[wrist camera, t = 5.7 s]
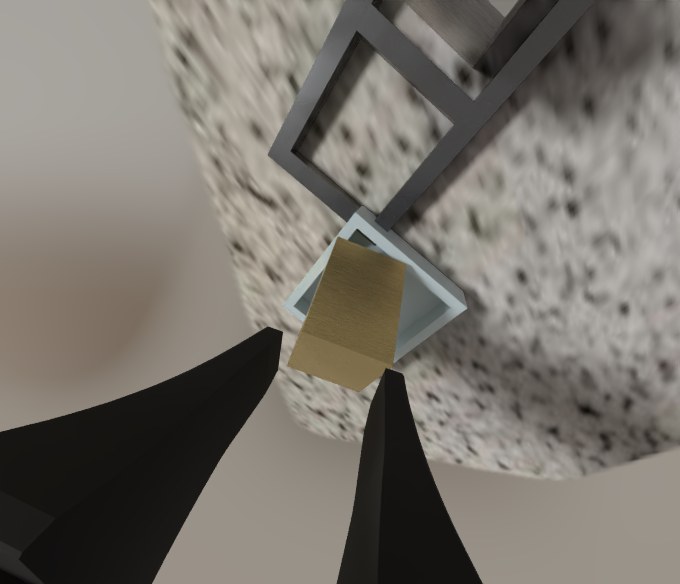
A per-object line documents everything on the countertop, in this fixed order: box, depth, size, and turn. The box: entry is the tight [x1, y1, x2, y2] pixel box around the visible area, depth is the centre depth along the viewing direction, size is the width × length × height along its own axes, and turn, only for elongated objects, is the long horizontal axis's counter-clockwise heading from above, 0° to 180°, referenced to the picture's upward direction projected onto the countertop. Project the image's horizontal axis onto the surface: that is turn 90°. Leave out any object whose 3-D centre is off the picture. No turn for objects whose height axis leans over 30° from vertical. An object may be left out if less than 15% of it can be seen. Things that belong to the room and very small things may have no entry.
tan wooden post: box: [287, 236, 406, 392], centre depth 15 cm, size 4×4×6 cm
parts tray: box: [283, 205, 467, 363], centre depth 18 cm, size 8×8×2 cm
